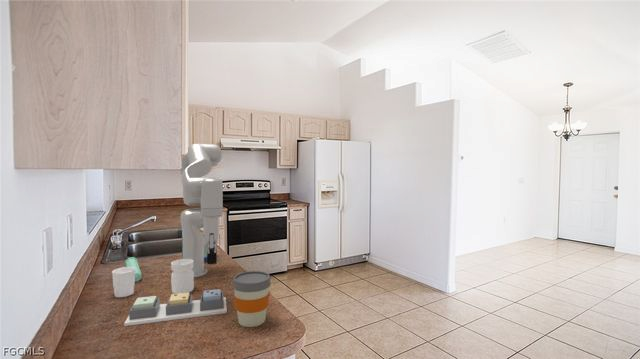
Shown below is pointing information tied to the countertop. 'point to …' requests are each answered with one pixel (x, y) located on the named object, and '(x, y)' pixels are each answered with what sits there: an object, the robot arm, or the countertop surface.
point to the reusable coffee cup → (251, 297)
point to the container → (134, 263)
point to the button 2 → (179, 299)
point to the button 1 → (145, 302)
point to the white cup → (123, 281)
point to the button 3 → (212, 295)
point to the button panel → (176, 311)
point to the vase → (182, 276)
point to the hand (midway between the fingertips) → (212, 261)
